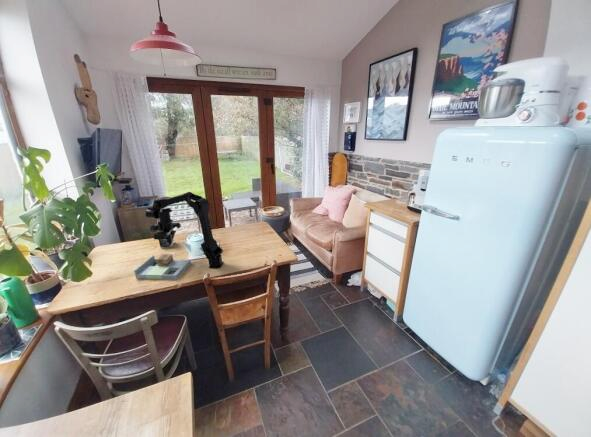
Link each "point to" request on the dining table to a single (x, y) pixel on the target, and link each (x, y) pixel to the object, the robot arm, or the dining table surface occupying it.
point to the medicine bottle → (165, 243)
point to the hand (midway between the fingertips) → (170, 243)
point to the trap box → (161, 269)
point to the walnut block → (164, 259)
